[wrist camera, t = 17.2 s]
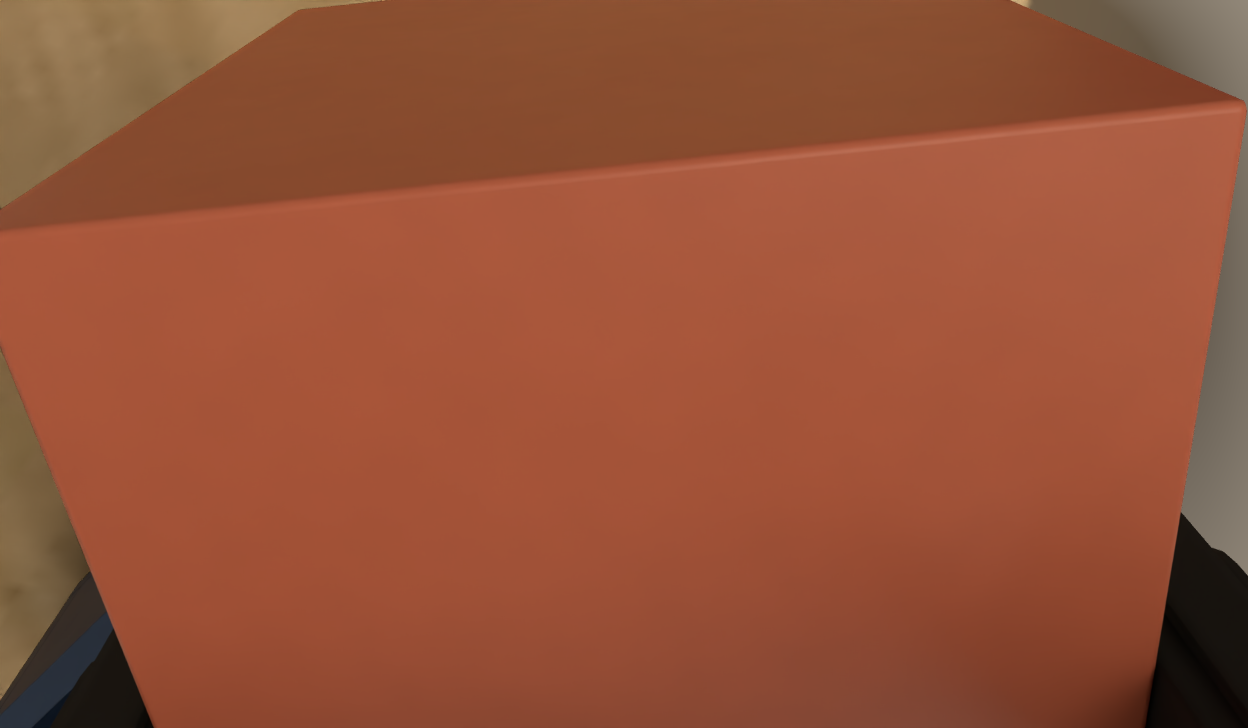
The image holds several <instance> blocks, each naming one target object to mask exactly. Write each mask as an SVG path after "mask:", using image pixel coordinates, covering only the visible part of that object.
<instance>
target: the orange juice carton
mask: <svg viewBox="0 0 1248 728" xmlns="http://www.w3.org/2000/svg"><path fill="white" fill-rule="evenodd" d="M1246 113H1247V110H1246V105H1245V102H1244V101H1243V100H1240V99H1238V98H1236V97H1234V96H1231V95H1229V94H1226V93H1224V92H1222V91H1219V90H1217V89H1215V88H1213V87H1210V86H1208V85H1206V84H1203V83H1201V82H1199V81H1196V80H1194V79H1192V78H1189V77H1187V76H1185V75H1182V74H1180V73H1178V72H1175V71H1173V70H1171V69H1168V68H1166V67H1164V66H1162V65H1159V64H1157V63H1154V62H1152V61H1150V60H1148V59H1145V58H1143V57H1141V56H1138V55H1136V54H1134V53H1131V52H1129V51H1126V50H1124V49H1122V48H1120V47H1117V46H1115V45H1113V44H1110V43H1108V42H1106V41H1103V40H1101V39H1099V38H1096V37H1094V36H1092V35H1089V34H1087V33H1085V32H1082V31H1080V30H1078V29H1076V28H1073V27H1071V26H1068V25H1066V24H1064V23H1062V22H1059V21H1057V20H1055V19H1052V18H1050V17H1048V16H1045V15H1043V14H1040V13H1038V12H1036V11H1034V10H1031V9H1029V8H1027V7H1024V6H1022V5H1020V4H1017V3H1015V2H1013V1H1010V0H386V1H377V2H367V3H358V4H349V5H340V6H331V7H321V8H312V9H303V10H298V11H296V12H295V13H293V14H292V15H290V16H289V17H287V18H286V19H284V20H283V21H281V22H280V23H278V24H277V25H275V26H274V27H272V28H271V29H269V30H268V31H266V32H265V33H263V34H262V35H260V36H259V37H257V38H256V39H254V40H253V41H251V42H250V43H248V44H247V45H245V46H244V47H242V48H241V49H239V50H238V51H237V52H235V53H234V54H232V55H231V56H229V57H228V58H226V59H225V60H223V61H222V62H220V63H219V64H217V65H216V66H214V67H213V68H211V69H210V70H208V71H207V72H205V73H204V74H202V75H201V76H199V77H198V78H196V79H195V80H193V81H192V82H190V83H189V84H187V85H186V86H184V87H183V88H181V89H180V90H178V91H177V92H175V93H174V94H172V95H171V96H169V97H168V98H166V99H165V100H163V101H162V102H160V103H159V104H157V105H156V106H154V107H153V108H151V109H150V110H148V111H147V112H145V113H144V114H142V115H141V116H139V117H138V118H136V119H135V120H133V121H132V122H130V123H129V124H127V125H126V126H124V127H123V128H121V129H120V130H118V131H117V132H115V133H114V134H112V135H111V136H109V137H108V138H106V139H105V140H104V141H102V142H101V143H99V144H98V145H96V146H95V147H93V148H92V149H90V150H89V151H87V152H86V153H84V154H83V155H81V156H80V157H78V158H77V159H75V160H74V161H72V162H71V163H69V164H68V165H66V166H65V167H63V168H62V169H60V170H59V171H57V172H56V173H54V174H53V175H51V176H50V177H48V178H47V179H45V180H44V181H42V182H41V183H39V184H38V185H36V186H35V187H33V188H32V189H30V190H29V191H27V192H26V193H24V194H23V195H21V196H20V197H18V198H17V199H15V200H14V201H12V202H11V203H9V204H8V205H6V206H5V207H3V208H2V209H0V347H1V350H2V352H3V355H4V357H5V360H6V362H7V365H8V367H9V370H10V372H11V375H12V377H13V380H14V382H15V385H16V387H17V390H18V392H19V395H20V397H21V399H22V402H23V404H24V407H25V409H26V412H27V414H28V417H29V419H30V422H31V424H32V427H33V429H34V432H35V434H36V437H37V439H38V442H39V444H40V447H41V449H42V452H43V454H44V457H45V459H46V462H47V464H48V466H49V469H50V471H51V474H52V476H53V479H54V481H55V484H56V486H57V489H58V491H59V494H60V496H61V499H62V501H63V504H64V506H65V509H66V511H67V514H68V516H69V519H70V521H71V524H72V526H73V528H74V531H75V533H76V536H77V538H78V541H79V543H80V546H81V548H82V551H83V553H84V556H85V558H86V561H87V563H88V566H89V568H90V571H91V573H92V576H93V578H94V581H95V583H96V586H97V588H98V591H99V593H100V595H101V598H102V600H103V603H104V605H105V608H106V610H107V613H108V615H109V618H110V620H111V623H112V625H113V628H114V630H115V633H116V635H117V638H118V640H119V643H120V645H121V648H122V650H123V653H124V655H125V658H126V660H127V662H128V665H129V667H130V670H131V672H132V675H133V677H134V680H135V682H136V685H137V687H138V690H139V692H140V695H141V697H142V700H143V702H144V705H145V707H146V710H147V712H148V715H149V717H150V720H151V722H152V724H153V727H154V728H1145V726H1146V720H1147V714H1148V708H1149V701H1150V695H1151V689H1152V683H1153V677H1154V671H1155V665H1156V659H1157V653H1158V647H1159V641H1160V635H1161V629H1162V623H1163V617H1164V610H1165V604H1166V598H1167V592H1168V586H1169V580H1170V574H1171V568H1172V562H1173V556H1174V550H1175V544H1176V538H1177V532H1178V526H1179V519H1180V513H1181V506H1182V501H1183V495H1184V489H1185V483H1186V477H1187V470H1188V465H1189V459H1190V452H1191V446H1192V441H1193V435H1194V428H1195V422H1196V416H1197V410H1198V404H1199V398H1200V392H1201V386H1202V380H1203V374H1204V367H1205V362H1206V355H1207V350H1208V344H1209V337H1210V331H1211V325H1212V319H1213V313H1214V306H1215V301H1216V295H1217V289H1218V283H1219V277H1220V270H1221V264H1222V259H1223V253H1224V246H1225V240H1226V234H1227V228H1228V222H1229V216H1230V210H1231V204H1232V198H1233V192H1234V185H1235V179H1236V174H1237V167H1238V162H1239V155H1240V149H1241V143H1242V137H1243V131H1244V125H1245V119H1246Z"/></svg>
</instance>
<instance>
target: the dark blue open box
mask: <svg viewBox="0 0 1248 728" xmlns="http://www.w3.org/2000/svg"><path fill="white" fill-rule="evenodd" d="M112 630H113V625H112V623H111V620H110V618H109V615H108V613H107V610H106V608H105V605H104V603H103V600H102V598H101V595H100V593H99V591H98V588H97V586H96V583H95V581H94V578H93V576H92V573H91V571H90V572H89V573H88V574H87V575H86V576H85V577H84V578H83V579H82V580H81V581H80V582H79V583H78V584H77V586H76V587H75V589H74V590H73V592H72V593H71V595H70V596H69V599H68V600H67V601H66V603H65V604H64V606H63V607H62V609H61V610H60V612H59V613H58V615H57V616H56V618H55V619H54V621H53V622H52V624H51V625H50V627H49V628H48V630H47V631H46V633H45V634H44V636H43V637H42V639H41V640H40V642H39V643H38V645H37V646H36V648H35V649H34V651H33V652H32V654H31V655H30V657H29V658H28V660H27V661H26V663H25V664H24V666H23V667H22V669H21V670H20V672H19V673H18V675H17V676H16V678H15V679H14V681H13V682H12V684H11V685H10V687H9V688H8V690H7V691H6V693H5V694H4V696H3V697H2V699H1V700H0V728H50V727H51V725H52V723H53V721H54V720H55V718H56V716H57V715H58V713H59V711H60V710H61V708H62V706H63V704H64V703H65V701H66V699H67V698H68V696H69V694H70V693H71V691H72V689H73V688H74V686H75V684H76V682H77V681H78V679H79V677H80V676H81V675H82V673H83V672H84V671H85V670H86V668H87V667H88V666H89V665H90V663H91V662H93V661H95V659H96V657H97V656H98V654H99V652H100V650H101V649H102V647H103V645H104V644H105V642H106V640H107V638H108V637H109V635H110V633H111V632H112Z"/></svg>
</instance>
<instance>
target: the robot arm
mask: <svg viewBox="0 0 1248 728" xmlns="http://www.w3.org/2000/svg"><path fill="white" fill-rule="evenodd" d="M50 728H154V727H153V724H152V722H151V720H150V717H149V715H148V712H147V710H146V707H145V705H144V702H143V700H142V697H141V695H140V692H139V690H138V687H137V685H136V682H135V680H134V677H133V675H132V672H131V670H130V667H129V665H128V662H127V660H126V658H125V655H124V653H123V650H122V648H121V645H120V643H119V640H118V638H117V635H116V633H115V630H114V628H113V630H112V632H111V633H110V635H109V637H108V638H107V640H106V642H105V644H104V645H103V647H102V649H101V650H100V652H99V654H98V656H97V657H96V659H95V661H93V662H91V663H90V665H89V666H88V667H87V668H86V670H85V671H84V672H83V673H82V675H81V676H80V677H79V679H78V681H77V682H76V684H75V686H74V688H73V689H72V691H71V693H70V694H69V696H68V698H67V699H66V701H65V703H64V704H63V706H62V708H61V710H60V711H59V713H58V715H57V716H56V718H55V720H54V721H53V723H52V725H51V727H50ZM1145 728H1248V576H1247V574H1246V573H1245V572H1244V571H1243V570H1242V569H1241V568H1240V566H1239V565H1238V564H1237V563H1236V562H1235V561H1233V560H1232V559H1231V558H1230V557H1229V556H1228V555H1227V554H1226V553H1224V552H1223V551H1220V550H1217V549H1214V548H1211V547H1210V545H1209V544H1208V543H1207V542H1206V541H1205V540H1204V538H1203V537H1202V536H1201V535H1200V534H1199V533H1198V531H1197V530H1196V529H1195V528H1194V527H1193V526H1192V524H1191V523H1190V522H1189V521H1188V520H1187V519H1186V517H1185V516H1184V515H1183V514H1182V513H1180V519H1179V526H1178V532H1177V538H1176V544H1175V550H1174V556H1173V562H1172V568H1171V574H1170V580H1169V586H1168V592H1167V598H1166V604H1165V610H1164V617H1163V623H1162V629H1161V635H1160V641H1159V647H1158V653H1157V659H1156V665H1155V671H1154V677H1153V683H1152V689H1151V695H1150V701H1149V708H1148V714H1147V720H1146V726H1145Z"/></svg>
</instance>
